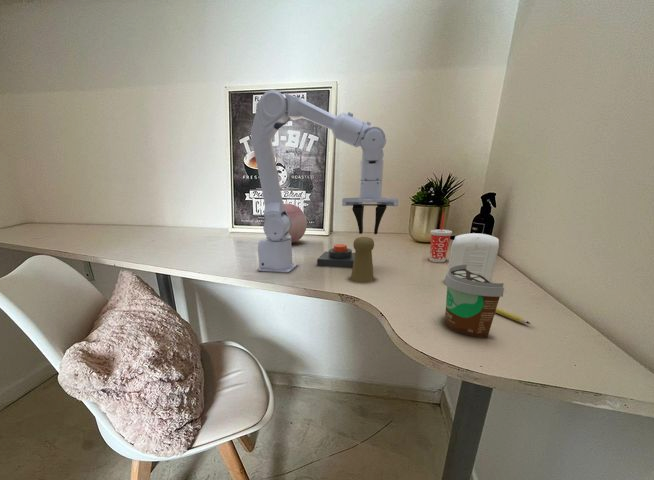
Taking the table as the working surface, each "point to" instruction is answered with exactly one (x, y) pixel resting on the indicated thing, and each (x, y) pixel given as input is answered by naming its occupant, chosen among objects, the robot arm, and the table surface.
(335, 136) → the robot arm
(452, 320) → the food container
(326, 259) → the dark grey button base
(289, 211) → the pink ball
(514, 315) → the pencil
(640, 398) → the table surface
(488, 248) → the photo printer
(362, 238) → the cork
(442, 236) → the beverage cup
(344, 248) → the timer button
